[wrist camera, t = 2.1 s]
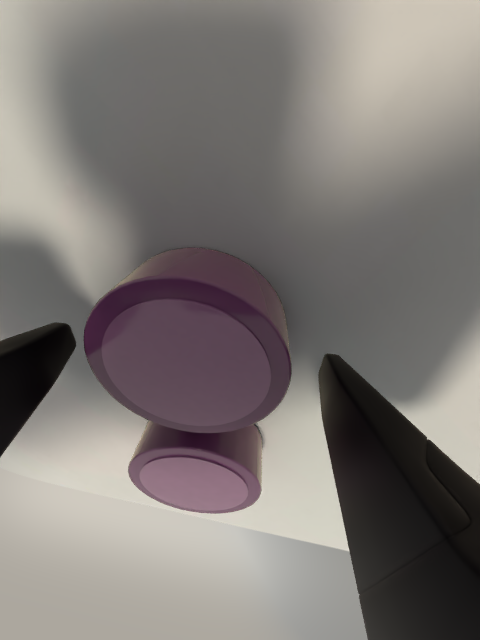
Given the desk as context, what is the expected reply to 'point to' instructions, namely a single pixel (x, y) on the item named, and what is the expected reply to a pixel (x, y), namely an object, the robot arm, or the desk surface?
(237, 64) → the desk surface
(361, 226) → the desk surface
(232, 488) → the dish
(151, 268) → the dish
